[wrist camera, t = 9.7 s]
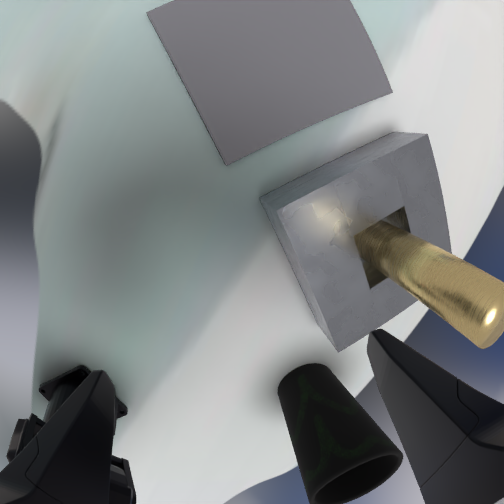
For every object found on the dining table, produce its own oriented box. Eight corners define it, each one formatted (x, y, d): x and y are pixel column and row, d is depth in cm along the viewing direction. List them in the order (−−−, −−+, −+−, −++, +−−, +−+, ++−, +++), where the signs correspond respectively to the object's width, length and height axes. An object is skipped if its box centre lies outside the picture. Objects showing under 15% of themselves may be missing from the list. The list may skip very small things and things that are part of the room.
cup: (280, 352, 26) (337, 464, 15) (352, 354, 28) (421, 442, 17) (257, 412, 28) (294, 514, 17) (324, 409, 30) (372, 495, 19)
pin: (339, 252, 24) (468, 356, 11) (342, 212, 23) (490, 294, 10) (372, 249, 25) (503, 338, 12) (376, 211, 24) (522, 282, 11)
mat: (225, 165, 20) (226, 165, 20) (147, 14, 15) (146, 12, 15) (389, 93, 20) (392, 92, 20) (324, -37, 16) (326, -39, 15)
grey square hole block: (318, 325, 26) (338, 352, 22) (259, 198, 21) (276, 210, 18) (425, 256, 26) (453, 273, 23) (393, 131, 22) (427, 133, 18)
